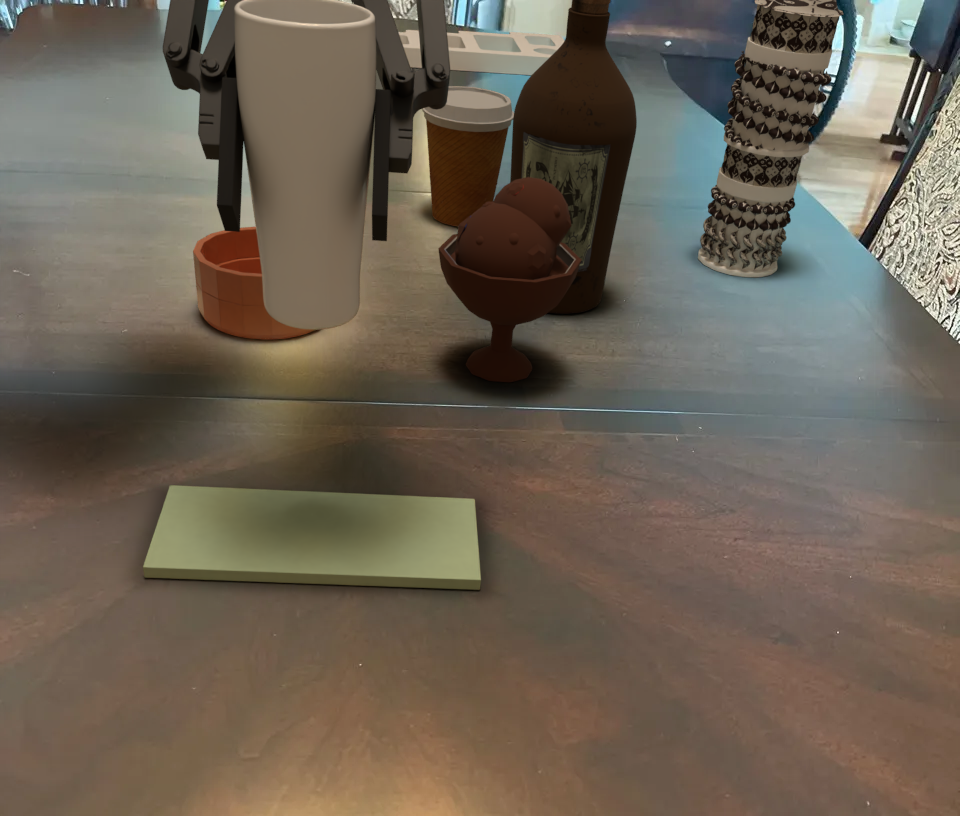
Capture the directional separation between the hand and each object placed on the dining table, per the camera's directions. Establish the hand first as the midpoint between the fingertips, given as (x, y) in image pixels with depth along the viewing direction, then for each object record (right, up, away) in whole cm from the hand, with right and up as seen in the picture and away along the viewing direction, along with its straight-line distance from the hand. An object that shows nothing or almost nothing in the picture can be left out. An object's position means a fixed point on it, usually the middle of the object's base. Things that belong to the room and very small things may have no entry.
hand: (304, 223), depth 53 cm
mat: (-1, -15, +14) cm, 20 cm away
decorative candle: (+36, +19, +59) cm, 71 cm away
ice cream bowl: (+10, +2, +35) cm, 37 cm away
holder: (+1, +75, +120) cm, 142 cm away
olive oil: (+16, +12, +48) cm, 52 cm away
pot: (-10, +8, +39) cm, 41 cm away
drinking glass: (-1, -3, +7) cm, 7 cm away
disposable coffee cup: (+7, +25, +62) cm, 67 cm away
